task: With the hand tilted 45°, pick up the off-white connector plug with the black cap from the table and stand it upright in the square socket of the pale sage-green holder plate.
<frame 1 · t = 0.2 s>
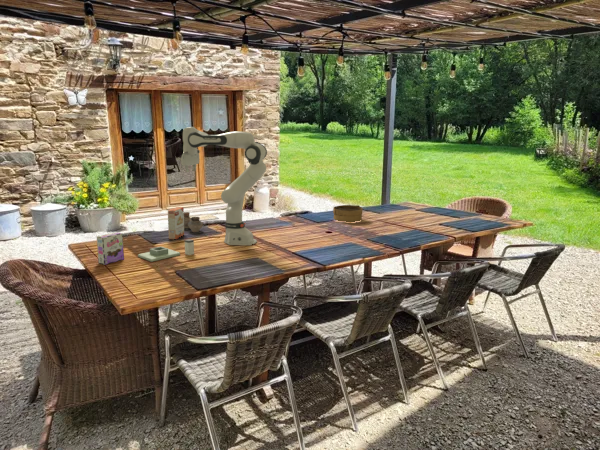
hand: (190, 171, 321), 48 cm above the table, tool pointing down, fingers open, 8 cm apart
cracker box: (176, 237, 335), on the table
candy box: (111, 261, 278), on the table
pottery: (191, 229, 359), on the table
holder plate: (159, 255, 290), on the table
steamer basket: (347, 220, 400), on the table
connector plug: (189, 253, 295), on the table
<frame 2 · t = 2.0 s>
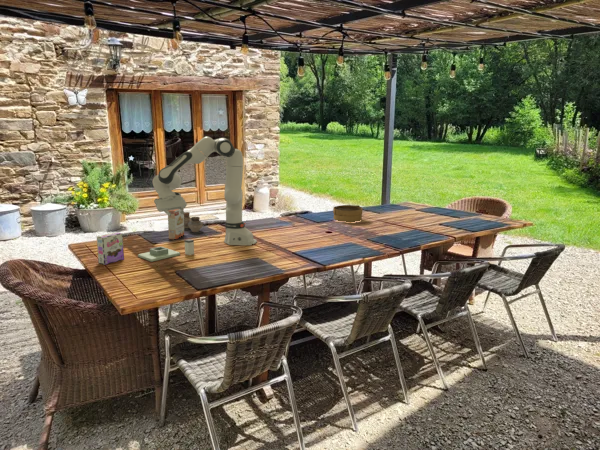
hand: (176, 214, 298), 24 cm above the table, tool tilted 45°, fingers open, 8 cm apart
nothing on the table moved.
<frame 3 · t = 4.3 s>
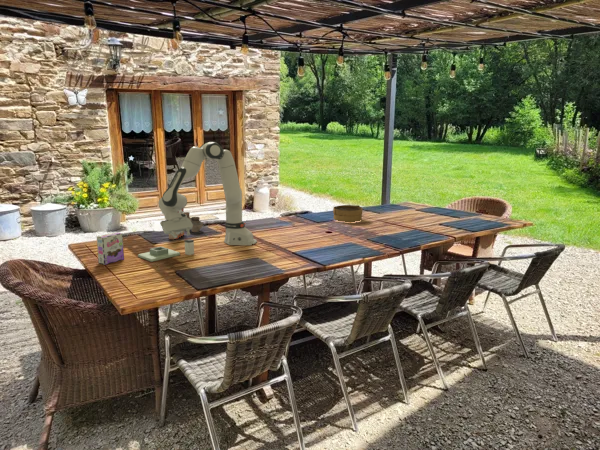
hand: (182, 236, 297), 10 cm above the table, tool tilted 45°, fingers open, 8 cm apart
nothing on the table moved.
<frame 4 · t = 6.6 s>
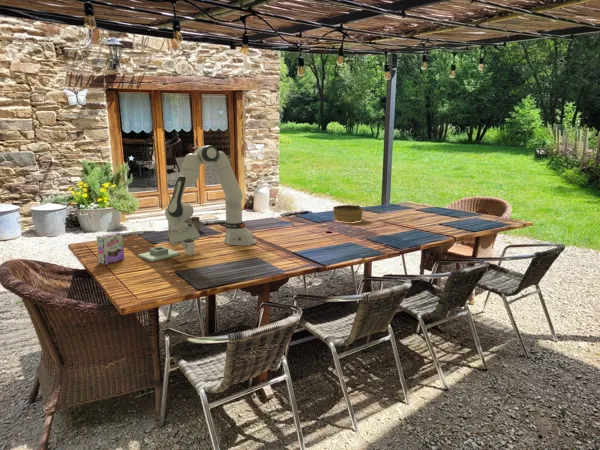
hand: (190, 246, 293), 5 cm above the table, tool tilted 45°, fingers closed on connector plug, 4 cm apart
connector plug: (189, 253, 295), on the table, touching gripper
everything else where it was.
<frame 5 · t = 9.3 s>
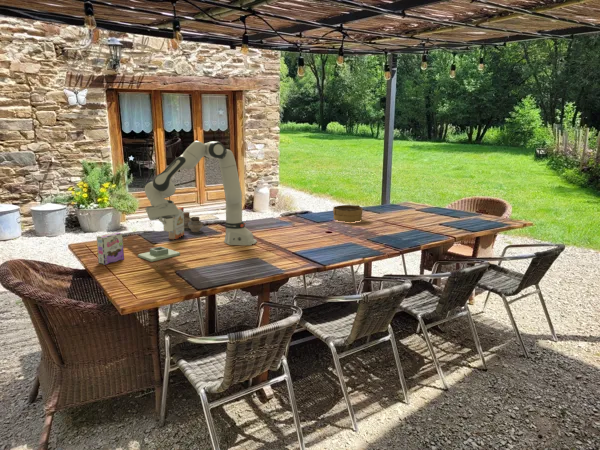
hand: (168, 223, 286), 20 cm above the table, tool tilted 45°, fingers closed on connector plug, 4 cm apart
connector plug: (168, 230, 288), point 16 cm above the table, touching gripper
everything else where it was.
when the fingers open (9 cm above the table, at t = 12.2 s): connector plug drops 2 cm, resting on holder plate.
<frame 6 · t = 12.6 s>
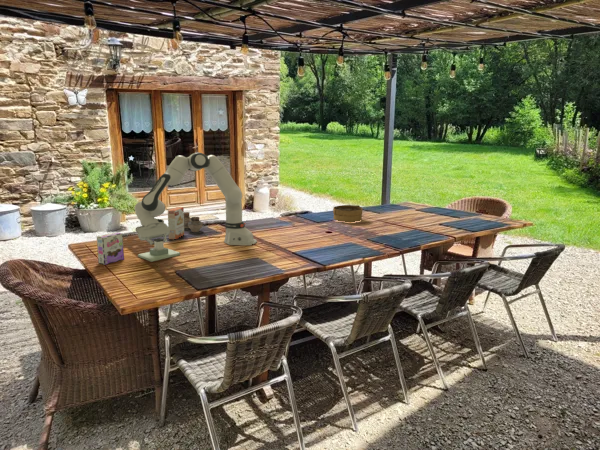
hand: (159, 242, 288), 9 cm above the table, tool tilted 45°, fingers open, 8 cm apart
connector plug: (159, 253, 290), point 1 cm above the table, touching holder plate
everything else where it was.
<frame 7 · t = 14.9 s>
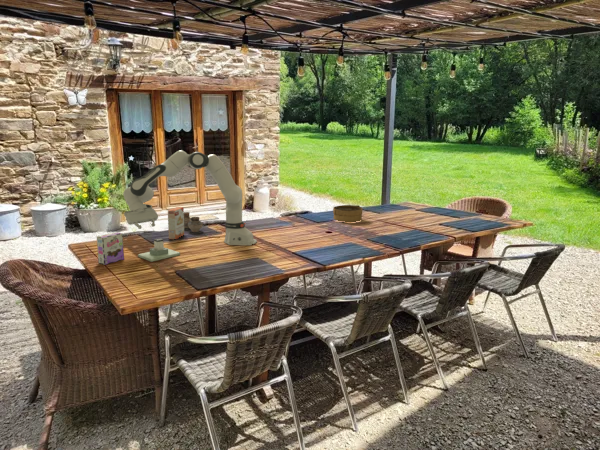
hand: (147, 227, 294), 16 cm above the table, tool tilted 45°, fingers open, 8 cm apart
nothing on the table moved.
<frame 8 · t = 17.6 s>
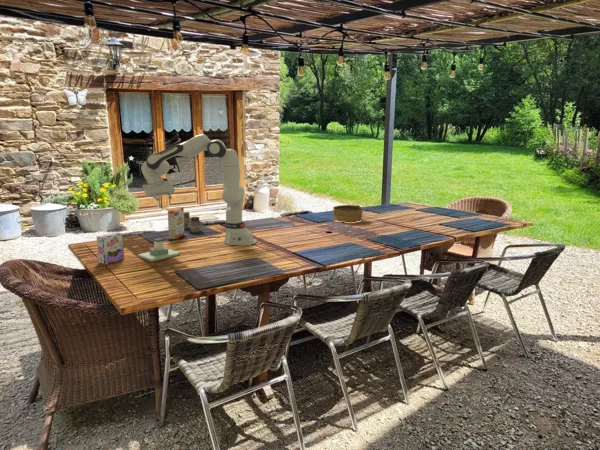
hand: (164, 199, 306), 31 cm above the table, tool tilted 45°, fingers open, 8 cm apart
nothing on the table moved.
at the end: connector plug 0.1 cm off-centre on the holder plate, point 1.5 cm above the holder plate's base; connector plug tilted 0°; the gripper is holding nothing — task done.
